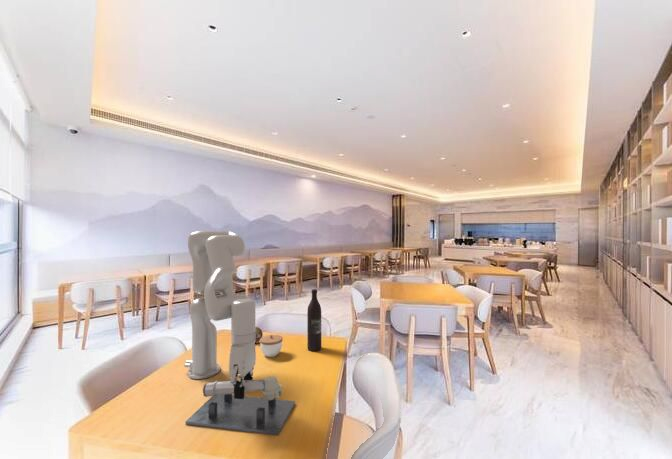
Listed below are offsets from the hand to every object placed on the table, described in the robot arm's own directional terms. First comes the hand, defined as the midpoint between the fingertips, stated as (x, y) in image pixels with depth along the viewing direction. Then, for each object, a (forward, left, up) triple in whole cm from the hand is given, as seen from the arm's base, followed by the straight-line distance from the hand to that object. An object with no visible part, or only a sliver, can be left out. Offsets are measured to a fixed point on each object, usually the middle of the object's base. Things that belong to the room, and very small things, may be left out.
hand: (243, 392), depth 96 cm
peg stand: (0, 0, -7) cm, 7 cm away
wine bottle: (+10, +56, -7) cm, 57 cm away
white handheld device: (0, 0, -1) cm, 1 cm away
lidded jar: (-9, +46, -7) cm, 47 cm away
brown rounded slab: (-27, +59, -7) cm, 65 cm away
